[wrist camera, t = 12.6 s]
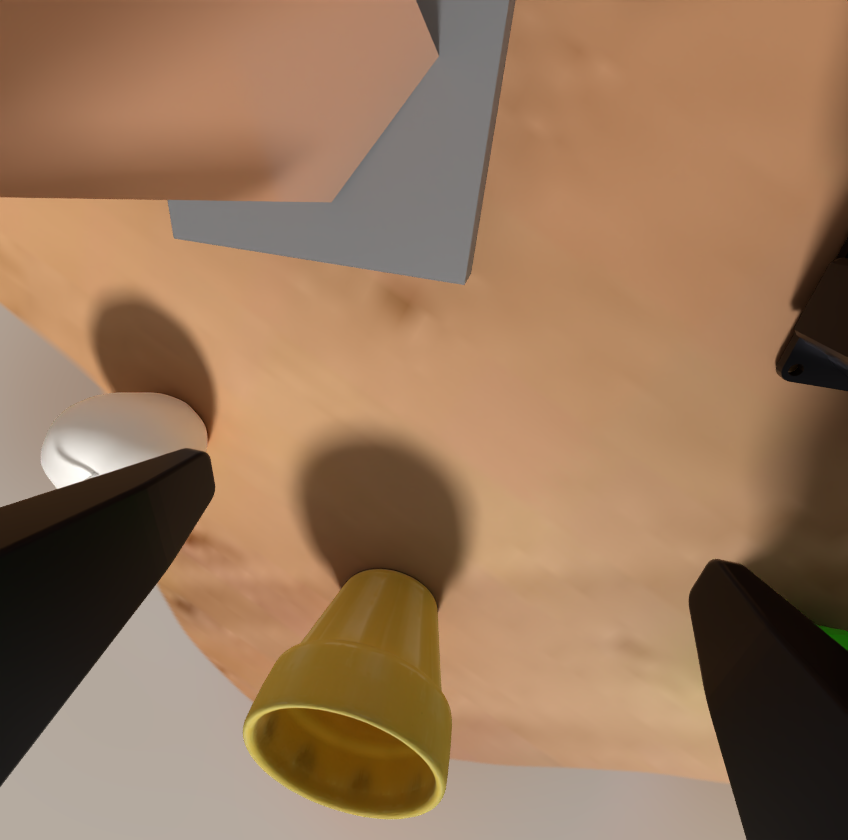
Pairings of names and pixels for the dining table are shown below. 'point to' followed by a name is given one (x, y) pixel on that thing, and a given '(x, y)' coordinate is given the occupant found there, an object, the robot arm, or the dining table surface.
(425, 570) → the dining table surface
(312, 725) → the plant pot
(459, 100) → the flat gray slab
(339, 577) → the dining table surface
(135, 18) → the tan rectangular block
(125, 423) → the plain white apple
